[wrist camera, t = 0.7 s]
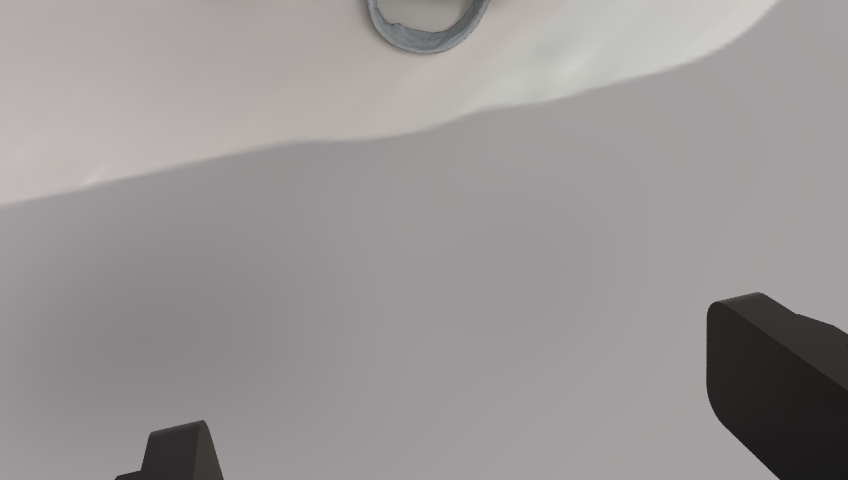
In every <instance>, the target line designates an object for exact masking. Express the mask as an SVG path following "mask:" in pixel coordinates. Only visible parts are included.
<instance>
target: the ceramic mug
mask: <svg viewBox="0 0 848 480" xmlns="http://www.w3.org/2000/svg"><path fill="white" fill-rule="evenodd" d="M489 2H490V0H474V1H473V3H472V5H471V6H470V8H469V9H468V11H467V12H466V14H465V15H464V17H463V18H462V19H461V20H460V21H459V22H458V23H457V24H456V25H455V26H453V27H452V28H450V29H449V30H446V31H444V32H437V33H430V32H424V31H419V30H412V29H409V28H406V27H404V26H402V25H401V24H400V23H396V24H389V23H388V22H387V21H386V20H385V19H384V18H383V16H382V14H381V12H380V11H379V9H378V8H377V4H376V0H367V3H368V9H369V13H370V17H371V19H372V22H373V24H374V26H375V27H376V29H377V30H378V31H379V33H380V34H381V35H382V36H383V37H384V38H385V39H386V40H387V41H388V42H389V43H390V44H392V45H394V46H396V47H398V48H400V49H403V50H405V51H409V52H415V53H422V54H434V53H440V52H444V51H447V50H449V49H451V48H453V47H455V46H456V45H458V44H459V43H460V42H462V41H463V40H464V39H466V38H467V36H468V35H469V34H470V33H472V31H473V30H474V29H475V27H476V26H477V24H478V23H479V22H480V20H481V18H482V16H483V15H484V13H485V11H486V9H487V6H488V4H489Z"/></svg>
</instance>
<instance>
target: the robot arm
mask: <svg viewBox="0 0 848 480" xmlns="http://www.w3.org/2000/svg"><path fill="white" fill-rule="evenodd" d="M706 374H707V377H706V380H707V381H706V384H707V393H708V398H709V401H710V404H711V406H712V409H713V411H714V413H715V415H716V416H717V417H718V419H719V421H720V422H721V423H722V424H723V425H724V426H725V427H726V428H727V429H728V430H729V431H730V432H731V433H732V434H733V435H734V436H735V437H736V438H737V439H738V440H739V441H740V442H741V443H742V444H743V445H745V447H747V448H748V449H749V450H750V451H751V452H752V453H753V454H754V455H755V456H756V457H757V458H758V459H759V460H760V461H761V462H762V463H763V464H764V465H765V466H766V467H767V468H768V469H769V470H770V471H771V472H772V473H773V474H774V475H775V476H777V477H778V478H779V479H780V480H848V334H846V333H845V332H843V331H842V330H840V329H838V328H837V327H835V326H833V325H830V324H827V323H824V322H821V321H818V320H815V319H812V318H809V317H806V316H803V315H800V314H795V313H794V312H792V311H790V310H789V309H787V308H785V307H784V306H782V305H781V304H779V303H778V302H776V301H775V300H773V299H771V298H770V297H768V296H767V295H765V294H763V293H759V292H757V293H751V294H747V295H743V296H739V297H735V298H730V299H726V300H721V301H717V302H714V303H712V304H711V305H710V307H709V309H708V313H707V372H706ZM115 480H224V479H223V476H222V472H221V469H220V465H219V462H218V459H217V455H216V452H215V449H214V445H213V441H212V438H211V435H210V432H209V429H208V426H207V424H206V423H205V421H204V420H201V421H196V422H192V423H188V424H184V425H179V426H175V427H171V428H166V429H162V430H158V431H154V432H151V433H150V435H149V438H148V443H147V447H146V451H145V455H144V459H143V464H142V468H141V470H140V471H136V472H132V473H128V474H124V475H120V476H117V477H116V478H115Z"/></svg>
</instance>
